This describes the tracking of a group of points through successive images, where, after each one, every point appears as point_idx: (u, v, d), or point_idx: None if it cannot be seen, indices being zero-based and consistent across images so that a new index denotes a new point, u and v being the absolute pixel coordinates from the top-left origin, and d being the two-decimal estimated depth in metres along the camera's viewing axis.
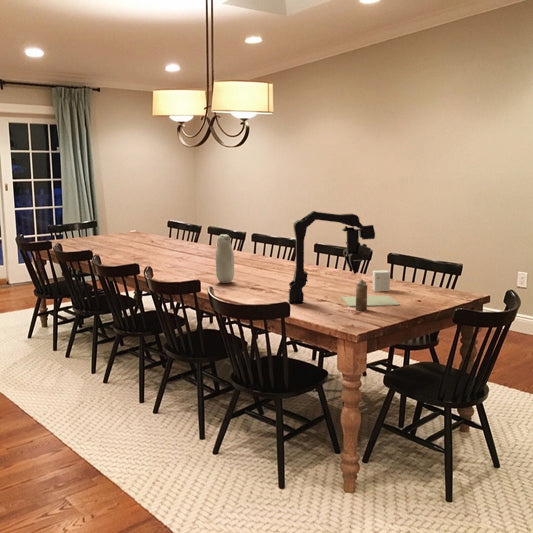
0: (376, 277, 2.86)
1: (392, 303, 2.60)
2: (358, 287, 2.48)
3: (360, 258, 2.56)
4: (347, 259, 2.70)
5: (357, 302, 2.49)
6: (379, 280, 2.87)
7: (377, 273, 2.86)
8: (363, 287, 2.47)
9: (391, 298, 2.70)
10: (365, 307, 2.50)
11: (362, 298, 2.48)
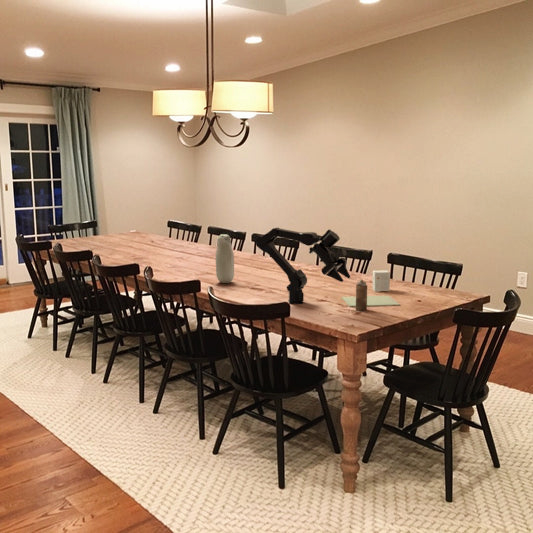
0: (376, 277, 2.86)
1: (392, 303, 2.60)
2: (358, 287, 2.48)
3: (329, 267, 2.46)
4: (339, 271, 2.59)
5: (357, 302, 2.49)
6: (379, 280, 2.87)
7: (377, 273, 2.86)
8: (363, 287, 2.47)
9: (391, 298, 2.70)
10: (365, 307, 2.50)
11: (362, 298, 2.48)
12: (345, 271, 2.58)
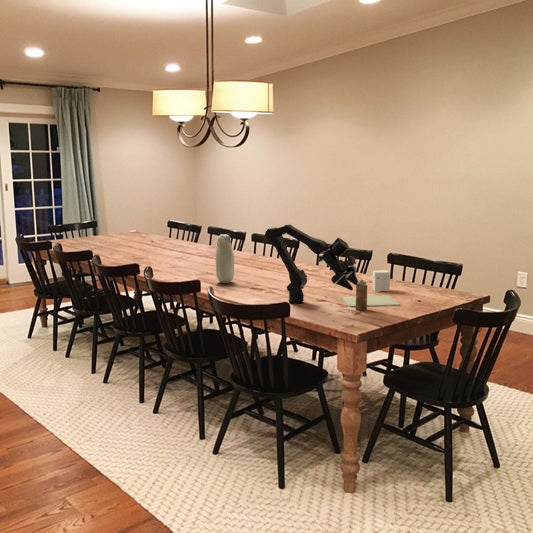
0: (376, 277, 2.86)
1: (392, 303, 2.60)
2: (358, 287, 2.48)
3: (339, 276, 2.44)
4: (349, 279, 2.58)
5: (357, 302, 2.49)
6: (379, 280, 2.87)
7: (377, 273, 2.86)
8: (363, 287, 2.47)
9: (391, 298, 2.70)
10: (365, 307, 2.50)
11: (362, 298, 2.48)
12: (355, 279, 2.56)
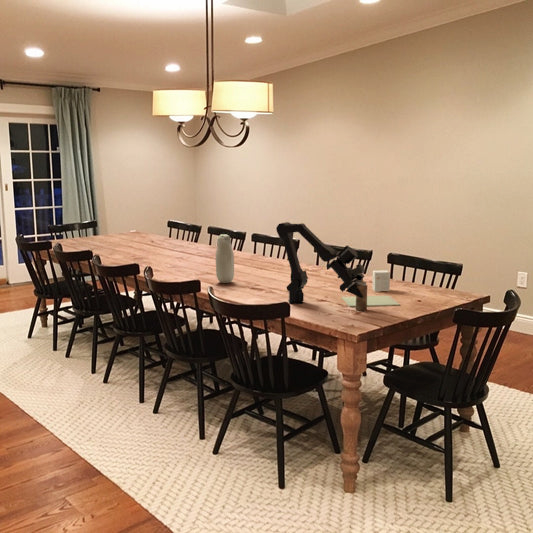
0: (376, 277, 2.86)
1: (392, 303, 2.60)
2: (358, 287, 2.48)
3: (347, 284, 2.43)
4: None
5: (357, 302, 2.49)
6: (379, 280, 2.87)
7: (377, 273, 2.86)
8: (363, 287, 2.47)
9: (391, 298, 2.70)
10: (365, 307, 2.50)
11: (362, 298, 2.48)
12: None
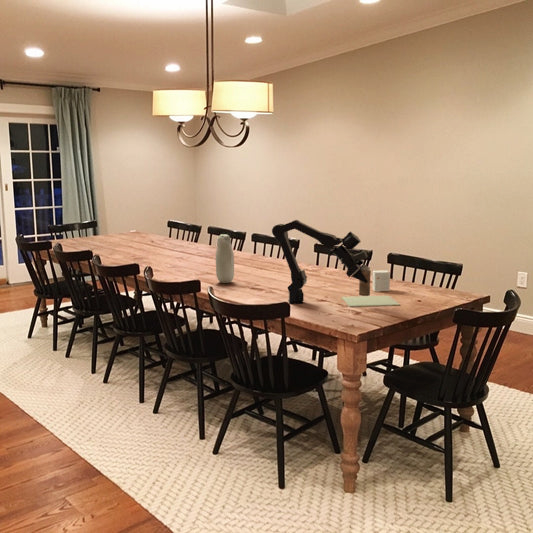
0: (376, 277, 2.86)
1: (392, 303, 2.60)
2: (362, 272, 2.53)
3: (355, 269, 2.46)
4: None
5: (362, 287, 2.54)
6: (379, 280, 2.87)
7: (377, 273, 2.86)
8: (367, 272, 2.52)
9: (391, 298, 2.70)
10: (369, 291, 2.55)
11: None
12: None
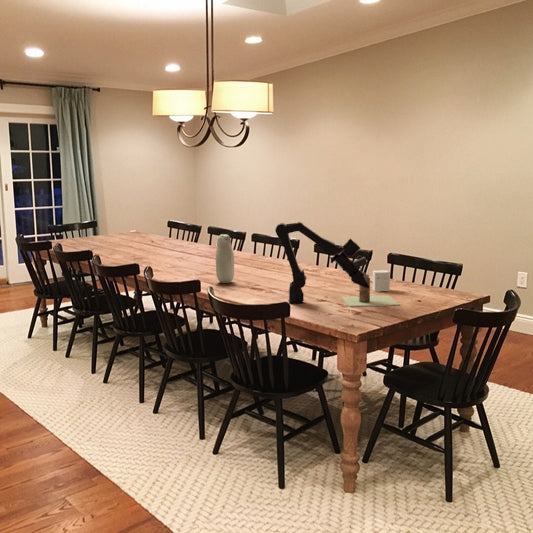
0: (376, 277, 2.86)
1: (392, 303, 2.60)
2: None
3: (360, 275, 2.53)
4: None
5: (363, 294, 2.62)
6: (379, 280, 2.87)
7: (377, 273, 2.86)
8: (368, 279, 2.61)
9: (391, 298, 2.70)
10: (369, 298, 2.63)
11: (367, 289, 2.62)
12: None
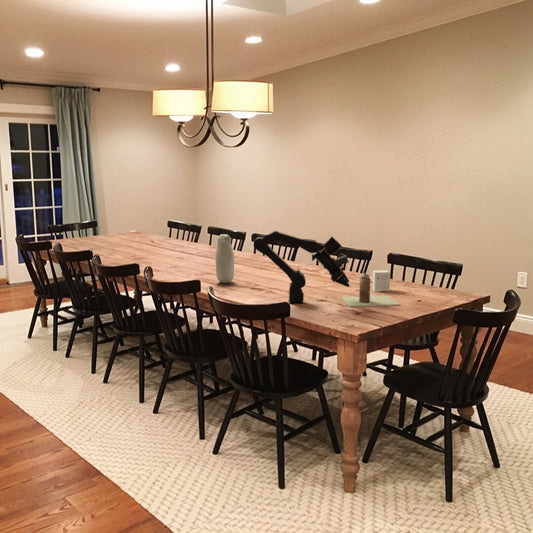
0: (376, 277, 2.86)
1: (392, 303, 2.60)
2: (363, 280, 2.61)
3: (339, 274, 2.54)
4: None
5: (363, 294, 2.62)
6: (379, 280, 2.87)
7: (377, 273, 2.86)
8: (368, 279, 2.61)
9: (391, 298, 2.70)
10: (369, 298, 2.63)
11: (367, 290, 2.61)
12: (344, 275, 2.68)
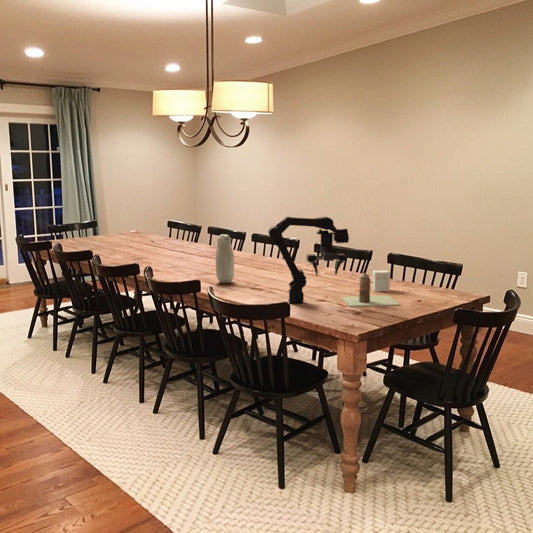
0: (376, 277, 2.86)
1: (392, 303, 2.60)
2: (363, 280, 2.61)
3: (307, 259, 2.63)
4: (335, 263, 2.67)
5: (363, 294, 2.62)
6: (379, 280, 2.87)
7: (377, 273, 2.86)
8: (368, 279, 2.61)
9: (391, 298, 2.70)
10: (369, 298, 2.63)
11: (367, 290, 2.61)
12: (336, 268, 2.65)
